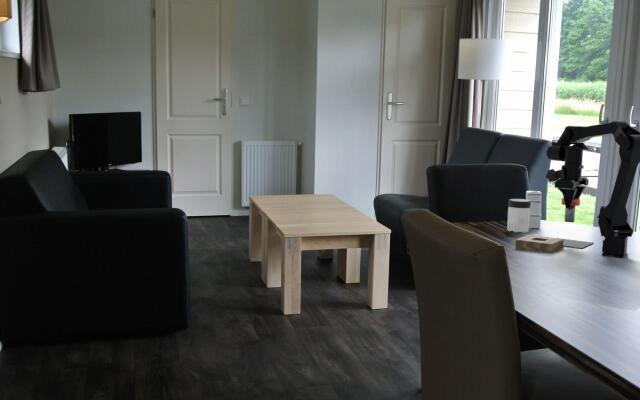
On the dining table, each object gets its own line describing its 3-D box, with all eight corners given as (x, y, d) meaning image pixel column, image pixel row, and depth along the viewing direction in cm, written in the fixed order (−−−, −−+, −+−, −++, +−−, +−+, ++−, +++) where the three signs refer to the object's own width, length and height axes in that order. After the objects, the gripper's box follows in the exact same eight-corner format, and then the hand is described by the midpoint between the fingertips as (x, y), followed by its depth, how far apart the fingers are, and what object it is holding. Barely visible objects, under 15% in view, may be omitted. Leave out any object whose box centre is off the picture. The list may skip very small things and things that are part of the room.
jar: (511, 232, 263) (513, 201, 261) (502, 229, 271) (504, 198, 269) (533, 232, 264) (535, 201, 263) (524, 229, 272) (526, 198, 271)
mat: (593, 243, 243) (593, 242, 243) (581, 249, 233) (582, 247, 233) (556, 239, 251) (556, 237, 251) (543, 244, 241) (543, 242, 241)
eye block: (563, 247, 234) (563, 239, 234) (550, 253, 225) (551, 244, 225) (528, 243, 242) (529, 234, 241) (515, 248, 232) (515, 239, 232)
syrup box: (540, 228, 273) (542, 192, 271) (525, 228, 274) (527, 191, 272) (539, 226, 279) (541, 190, 277) (523, 225, 280) (525, 190, 278)
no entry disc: (563, 219, 245) (564, 196, 244) (580, 221, 241) (582, 197, 240) (557, 221, 240) (559, 197, 239) (575, 223, 237) (577, 199, 236)
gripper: (558, 159, 250) (556, 202, 252) (540, 162, 236) (538, 207, 238) (590, 161, 244) (587, 205, 246) (574, 164, 229) (571, 210, 231)
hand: (570, 207), depth 240 cm, fingers closed on no entry disc, 6 cm apart
